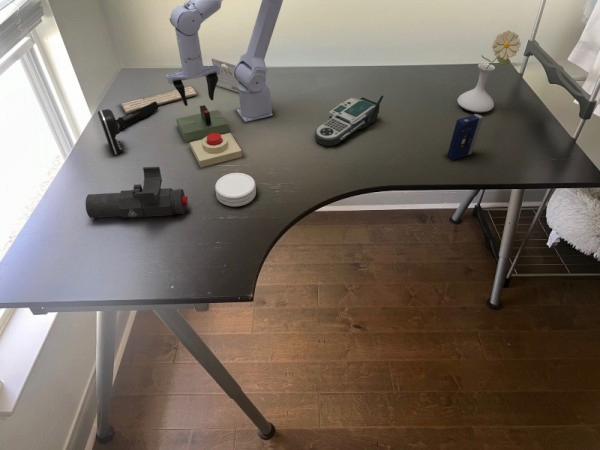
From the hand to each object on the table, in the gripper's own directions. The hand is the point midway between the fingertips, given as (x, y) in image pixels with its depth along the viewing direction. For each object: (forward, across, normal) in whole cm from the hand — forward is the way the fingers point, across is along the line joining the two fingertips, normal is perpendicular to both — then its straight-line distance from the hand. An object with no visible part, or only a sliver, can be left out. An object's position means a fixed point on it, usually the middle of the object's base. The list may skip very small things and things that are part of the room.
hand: (198, 101), depth 129 cm
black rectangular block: (+6, -1, 0) cm, 6 cm away
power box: (+9, 0, +14) cm, 17 cm away
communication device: (+10, -39, +18) cm, 44 cm away
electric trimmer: (+9, +17, -14) cm, 24 cm away
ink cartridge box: (+10, -16, -22) cm, 29 cm away
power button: (+6, 0, +14) cm, 15 cm away
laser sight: (+9, +24, +31) cm, 40 cm away
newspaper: (+9, +8, -23) cm, 26 cm away
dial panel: (+9, 0, 0) cm, 9 cm away
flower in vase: (+10, -85, +25) cm, 89 cm away
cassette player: (+10, -62, +44) cm, 76 cm away
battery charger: (+9, +25, 0) cm, 27 cm away
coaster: (+9, +1, +34) cm, 35 cm away
